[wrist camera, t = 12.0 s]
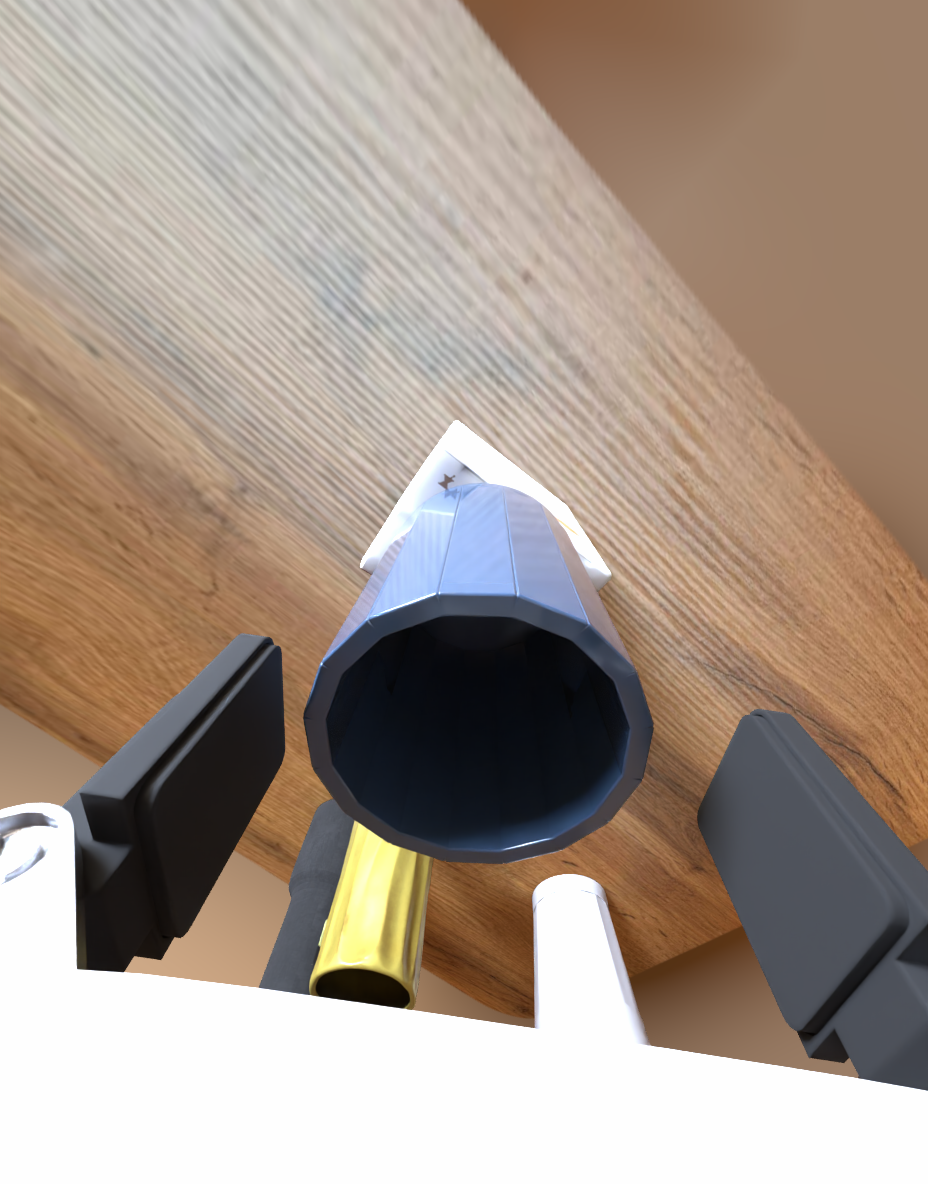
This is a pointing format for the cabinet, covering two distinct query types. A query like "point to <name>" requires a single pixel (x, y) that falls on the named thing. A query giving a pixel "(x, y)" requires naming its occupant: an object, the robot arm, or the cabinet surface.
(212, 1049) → the robot arm
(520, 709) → the tumbler
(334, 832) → the flashlight
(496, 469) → the small box
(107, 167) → the cabinet surface
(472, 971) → the cabinet surface
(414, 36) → the cabinet surface
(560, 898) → the cup
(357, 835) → the vase
